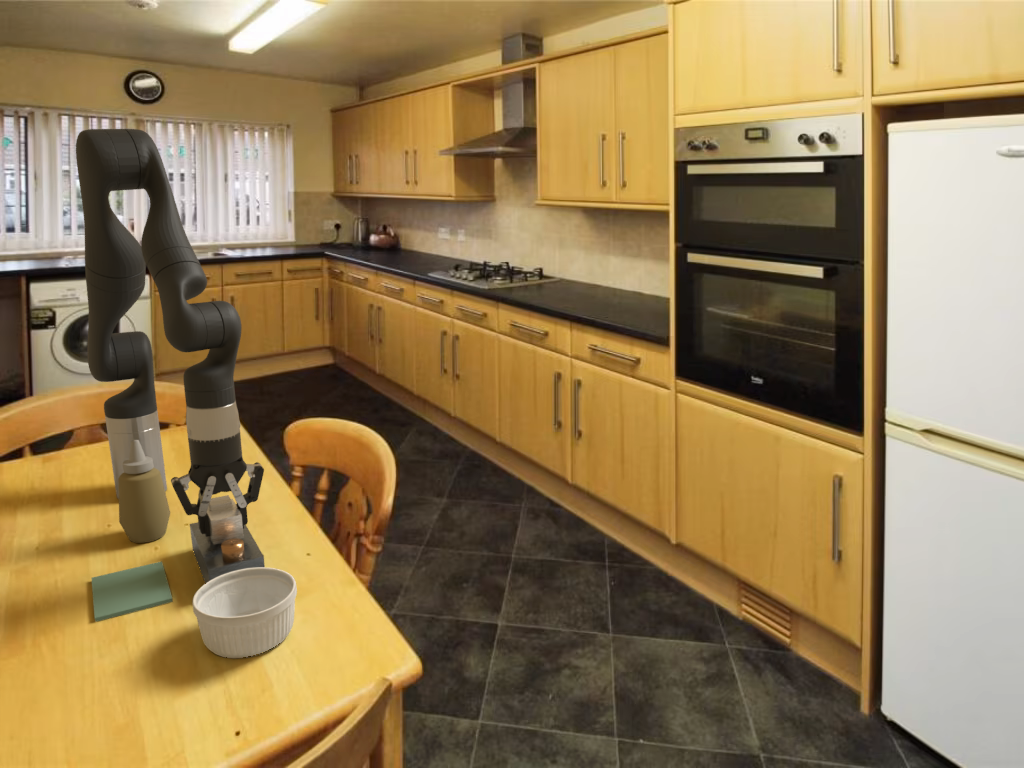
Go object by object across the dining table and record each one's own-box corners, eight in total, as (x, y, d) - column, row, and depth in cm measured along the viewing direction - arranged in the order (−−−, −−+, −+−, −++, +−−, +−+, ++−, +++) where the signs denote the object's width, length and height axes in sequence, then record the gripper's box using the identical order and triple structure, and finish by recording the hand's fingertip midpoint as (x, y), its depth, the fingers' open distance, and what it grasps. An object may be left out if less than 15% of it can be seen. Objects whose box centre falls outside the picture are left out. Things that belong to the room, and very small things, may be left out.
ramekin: (266, 598, 105) (262, 556, 103) (319, 631, 97) (316, 586, 95) (179, 639, 95) (173, 593, 93) (230, 679, 87) (225, 630, 85)
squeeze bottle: (159, 522, 130) (148, 430, 125) (181, 534, 125) (169, 439, 120) (114, 537, 124) (100, 441, 119) (134, 551, 119) (120, 452, 114)
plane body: (192, 550, 119) (187, 504, 117) (241, 539, 123) (237, 494, 121) (211, 600, 104) (205, 547, 102) (266, 585, 109) (261, 535, 106)
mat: (91, 581, 109) (91, 577, 109) (162, 564, 115) (161, 561, 114) (95, 621, 99) (94, 618, 99) (172, 601, 104) (172, 598, 104)
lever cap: (205, 527, 114) (202, 498, 113) (234, 520, 117) (231, 493, 115) (213, 544, 109) (210, 515, 107) (243, 537, 111) (241, 508, 110)
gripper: (256, 417, 115) (264, 512, 119) (160, 431, 107) (172, 532, 112) (267, 430, 109) (275, 529, 113) (166, 445, 101) (179, 551, 106)
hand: (224, 530), depth 112 cm, fingers closed on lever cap, 4 cm apart
